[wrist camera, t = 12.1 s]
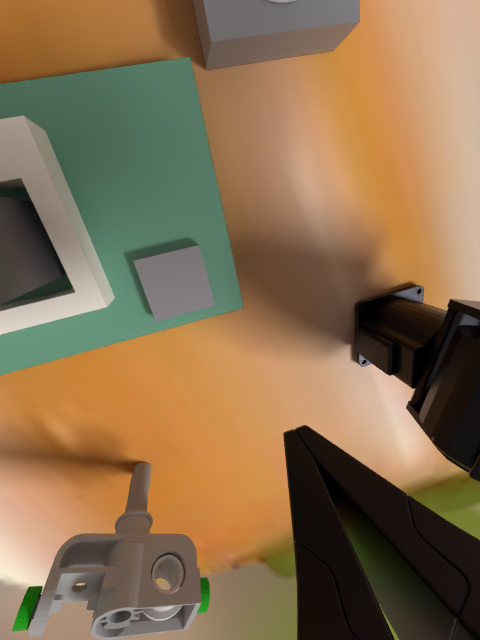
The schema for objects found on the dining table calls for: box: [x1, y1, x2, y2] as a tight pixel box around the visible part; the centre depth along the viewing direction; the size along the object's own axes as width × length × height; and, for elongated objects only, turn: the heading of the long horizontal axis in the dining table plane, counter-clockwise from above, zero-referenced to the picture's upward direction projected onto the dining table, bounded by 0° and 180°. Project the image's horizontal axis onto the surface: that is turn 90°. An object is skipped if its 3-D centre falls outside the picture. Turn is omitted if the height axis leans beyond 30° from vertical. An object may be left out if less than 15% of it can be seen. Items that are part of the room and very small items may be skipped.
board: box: [0, 57, 244, 375], centre depth 14 cm, size 20×14×4 cm
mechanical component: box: [13, 462, 210, 640], centre depth 19 cm, size 3×10×10 cm, turn 69°
